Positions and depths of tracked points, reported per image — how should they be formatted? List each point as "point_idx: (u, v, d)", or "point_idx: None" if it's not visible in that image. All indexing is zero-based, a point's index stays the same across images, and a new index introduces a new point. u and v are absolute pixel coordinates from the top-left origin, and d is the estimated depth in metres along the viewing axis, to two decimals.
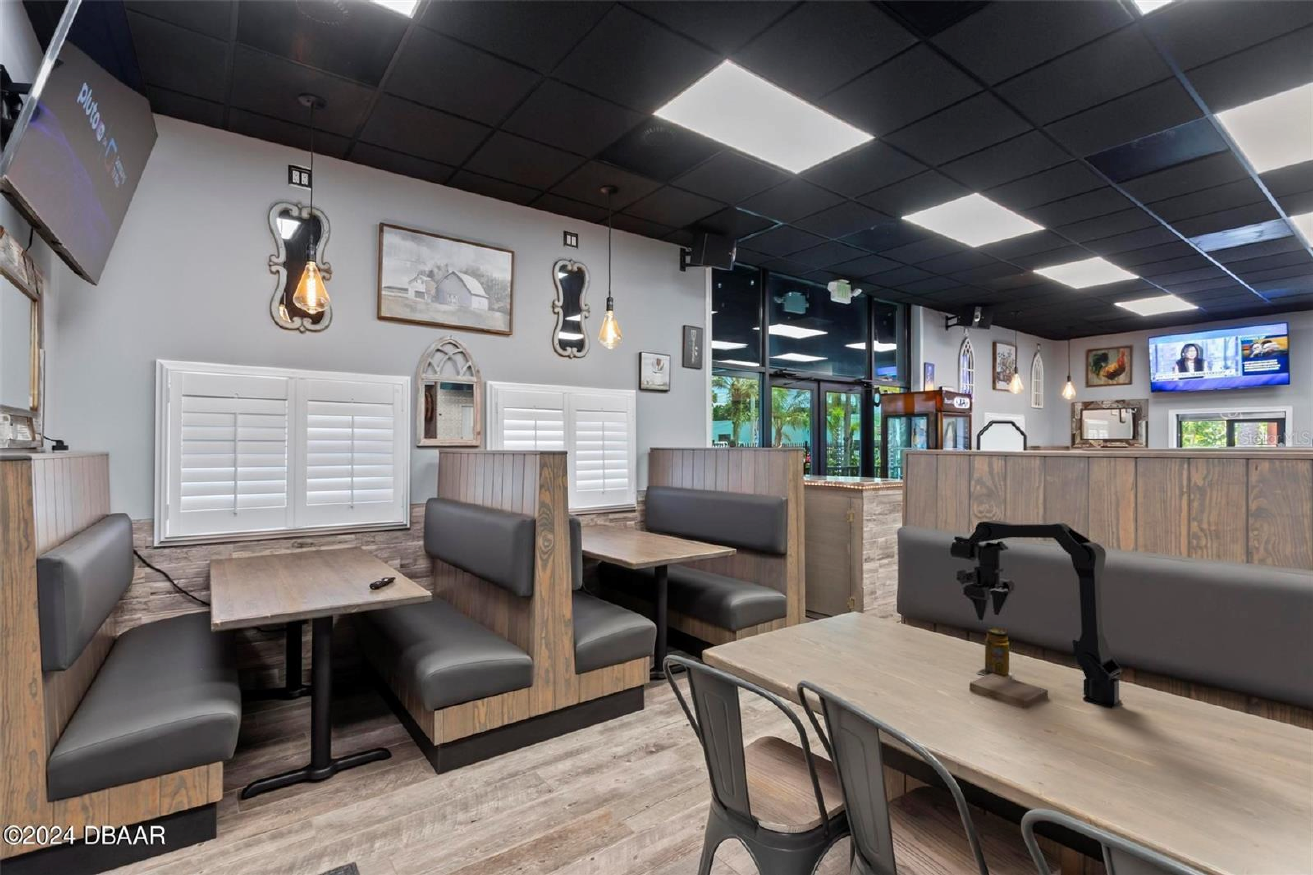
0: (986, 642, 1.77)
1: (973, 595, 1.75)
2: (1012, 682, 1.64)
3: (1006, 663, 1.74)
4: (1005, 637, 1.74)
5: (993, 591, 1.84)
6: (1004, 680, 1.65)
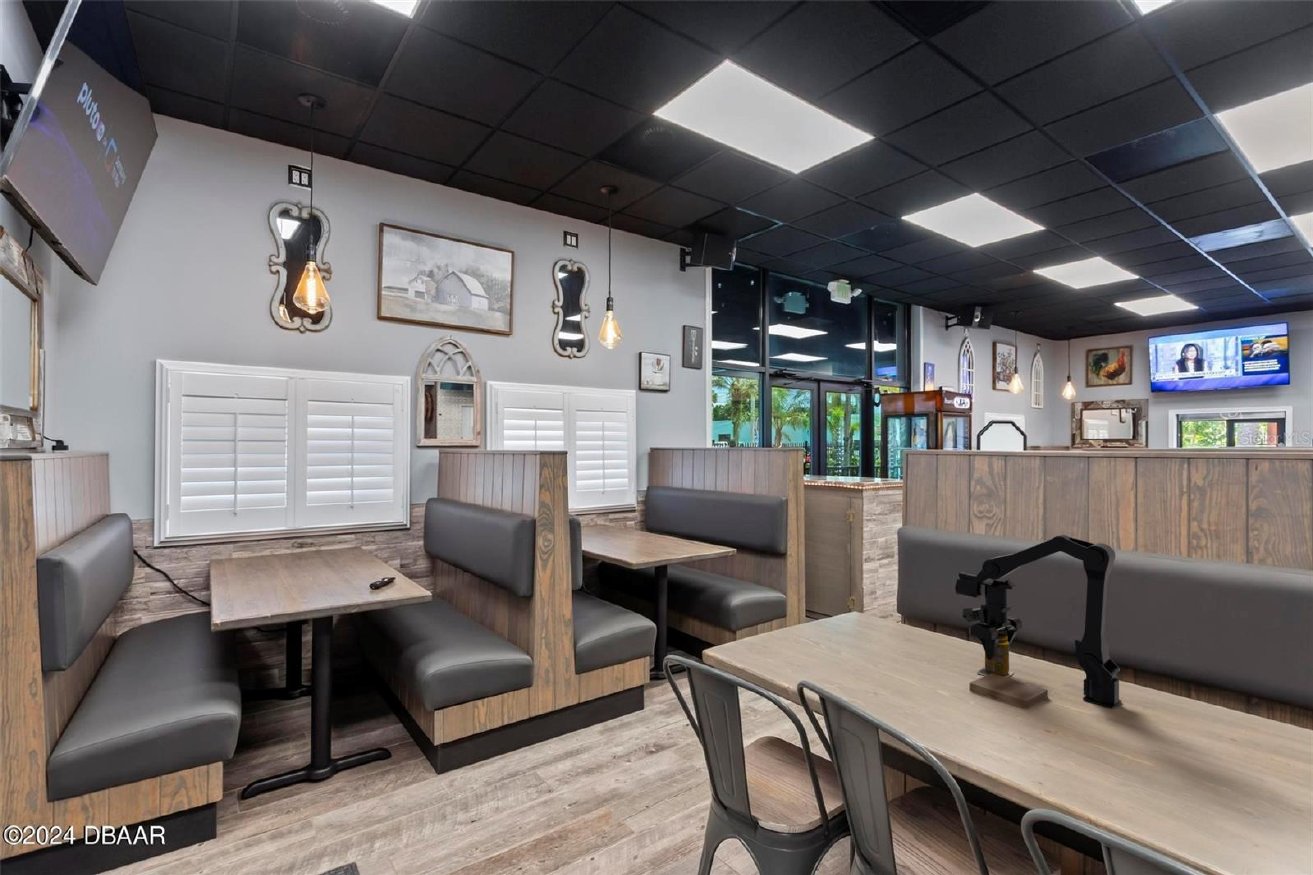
0: None
1: (980, 636, 1.70)
2: (1012, 682, 1.64)
3: (1006, 663, 1.74)
4: (1005, 637, 1.74)
5: None
6: (1004, 680, 1.65)
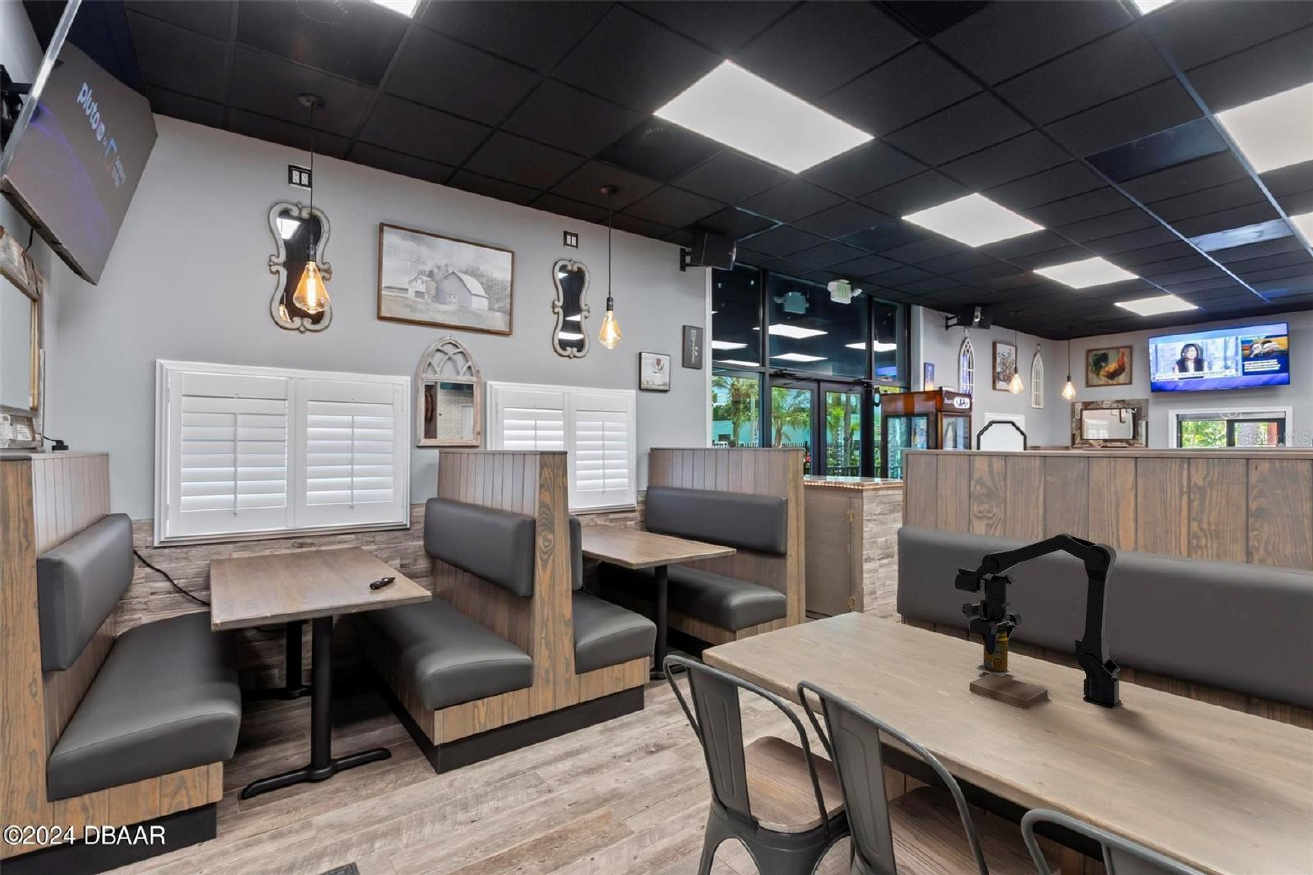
0: None
1: (979, 630, 1.70)
2: (1012, 682, 1.64)
3: (1005, 659, 1.73)
4: (1003, 633, 1.74)
5: None
6: (1004, 680, 1.65)
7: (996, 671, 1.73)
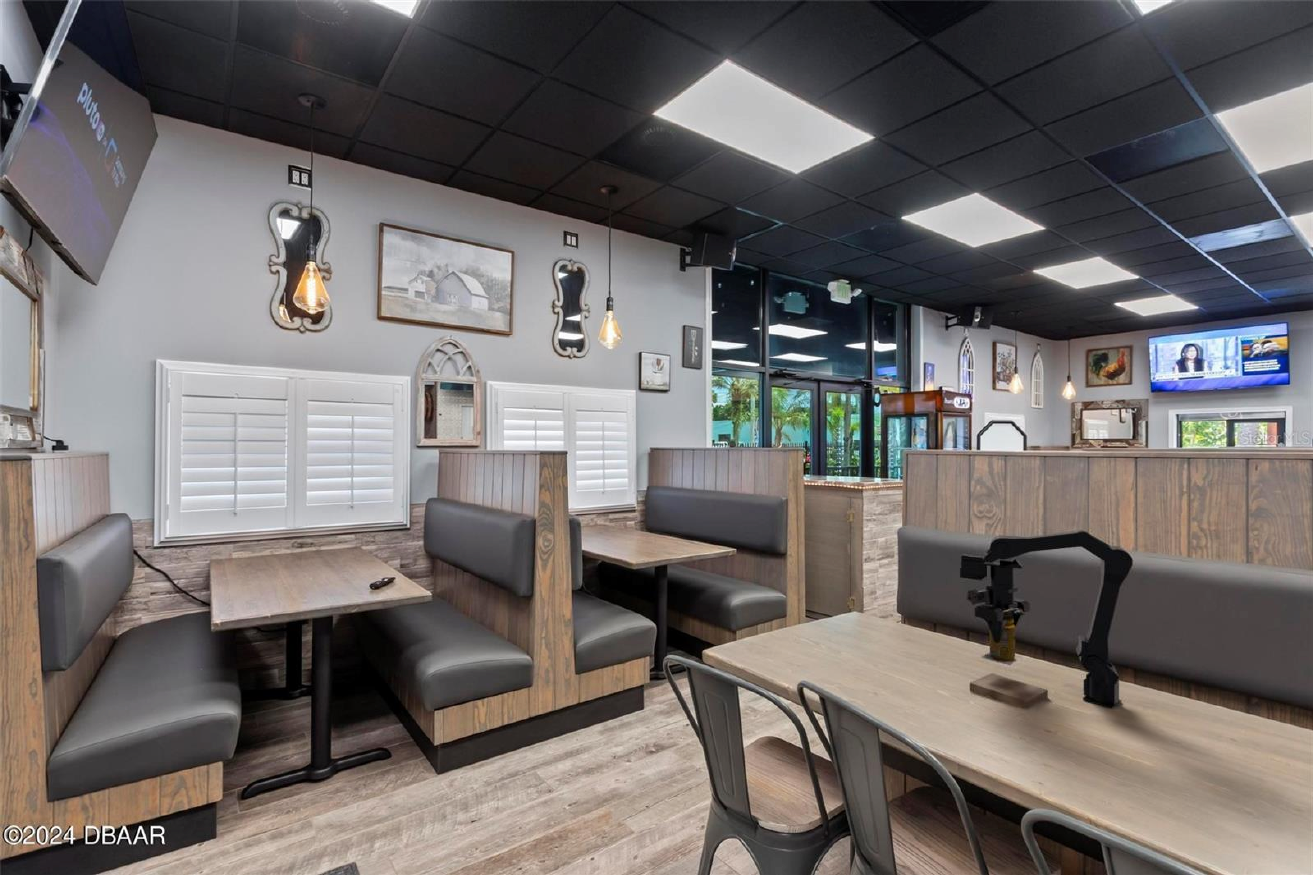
0: None
1: (985, 617, 1.63)
2: (1012, 682, 1.64)
3: (1012, 647, 1.66)
4: (1010, 620, 1.66)
5: None
6: (1004, 680, 1.65)
7: (1003, 660, 1.66)
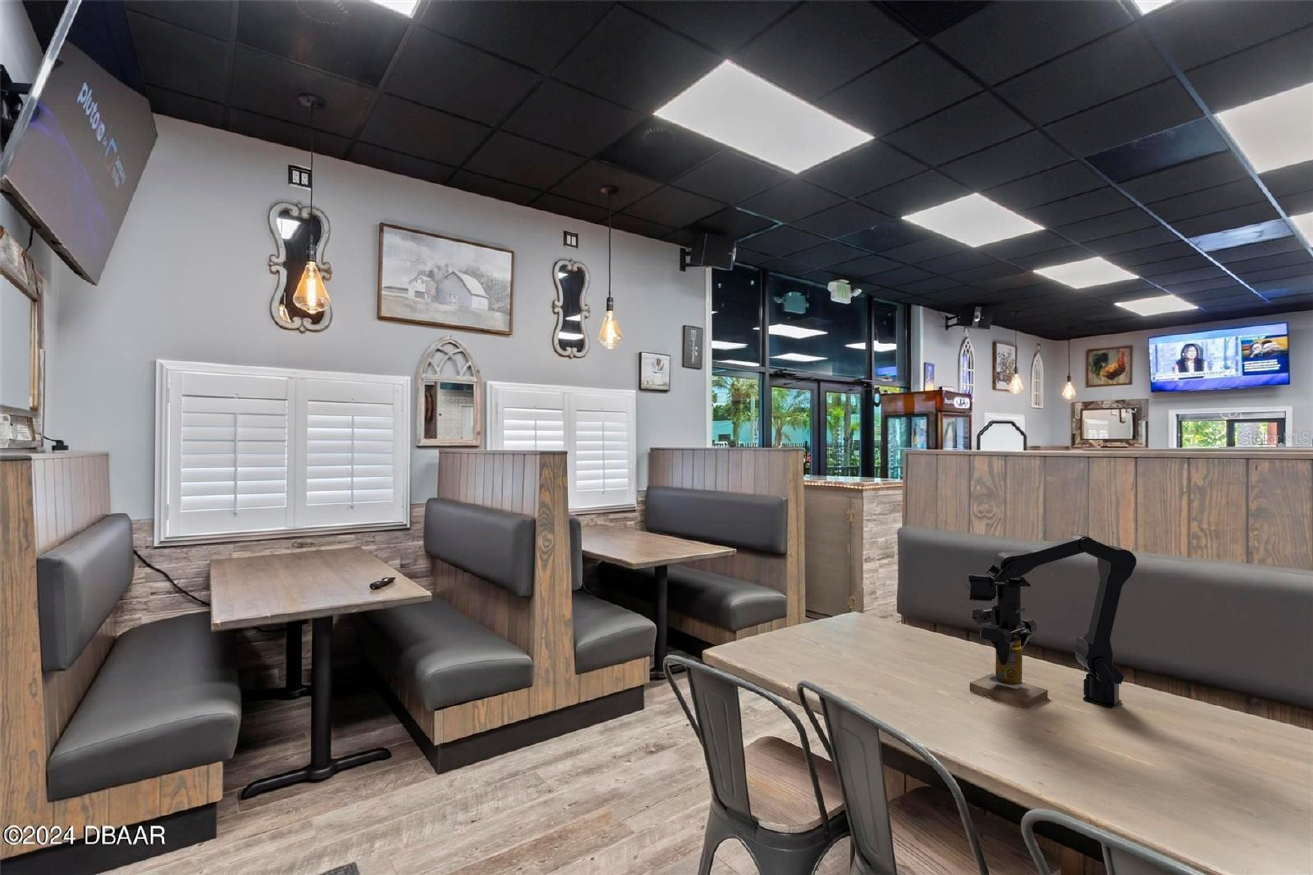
0: None
1: (992, 639, 1.56)
2: None
3: (1019, 669, 1.59)
4: (1018, 641, 1.59)
5: None
6: None
7: (1010, 683, 1.59)
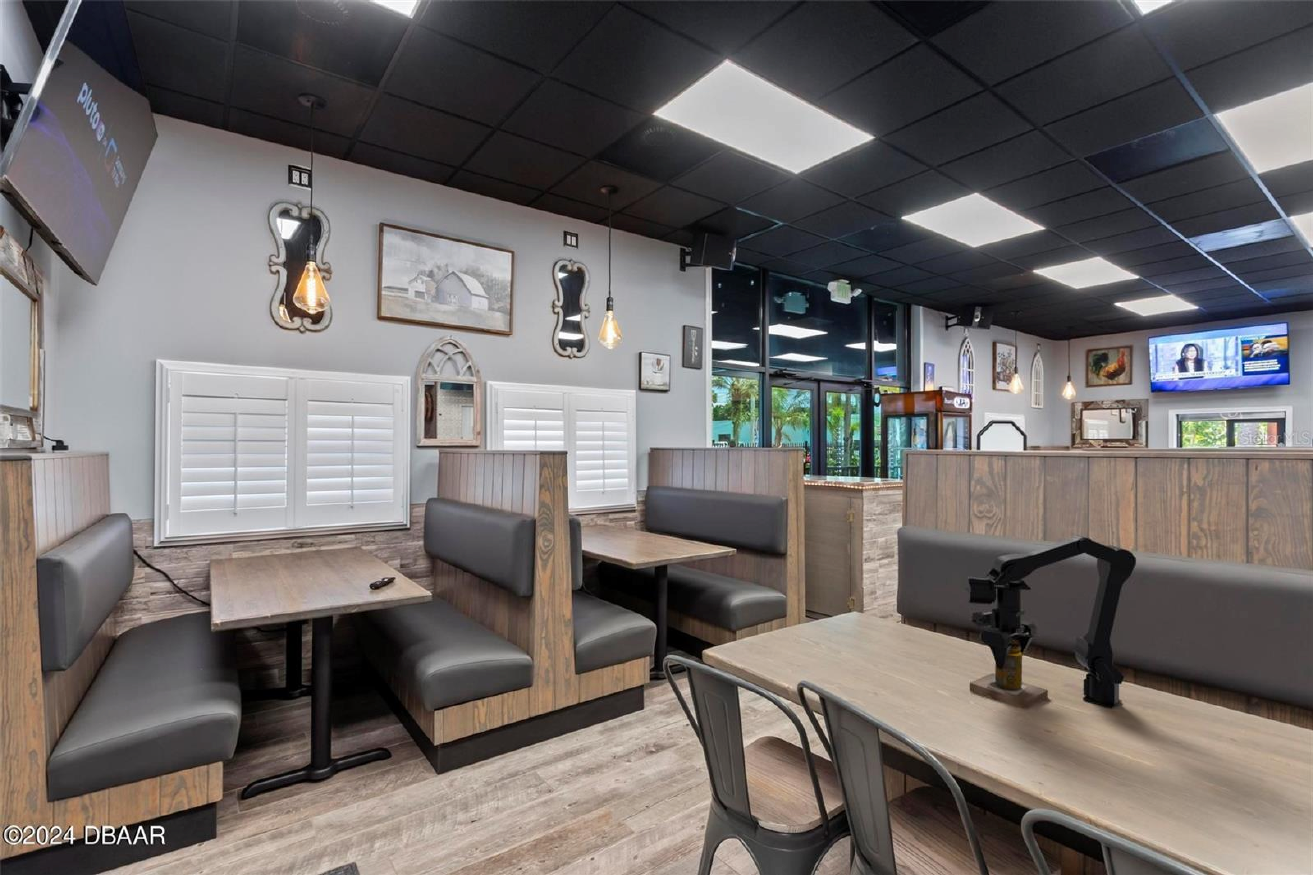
0: None
1: (991, 642, 1.56)
2: None
3: (1019, 675, 1.59)
4: (1017, 647, 1.59)
5: (1013, 635, 1.66)
6: None
7: (1009, 689, 1.59)
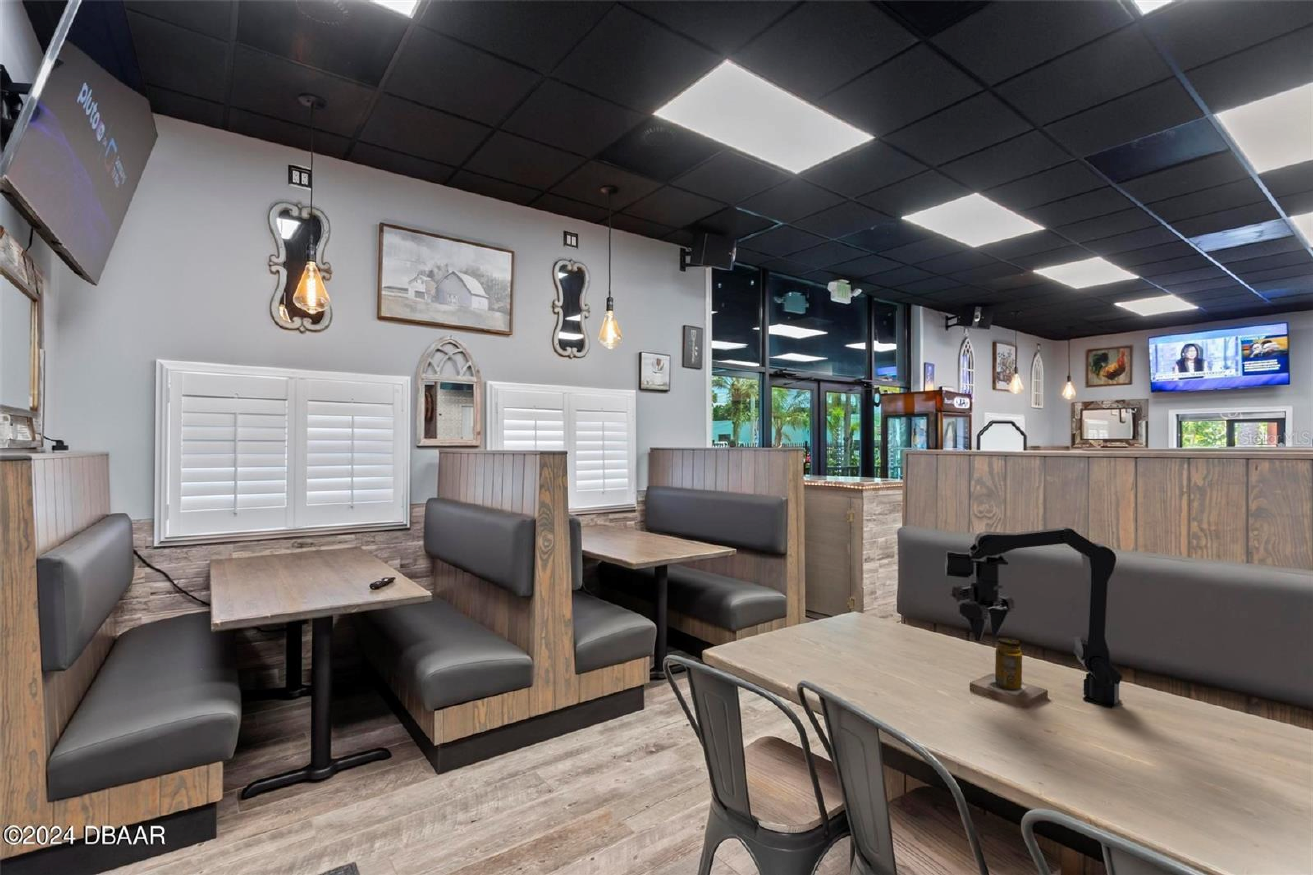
0: (997, 652, 1.62)
1: (970, 614, 1.60)
2: None
3: (1019, 675, 1.59)
4: (1017, 647, 1.59)
5: (991, 609, 1.70)
6: None
7: (1009, 689, 1.59)
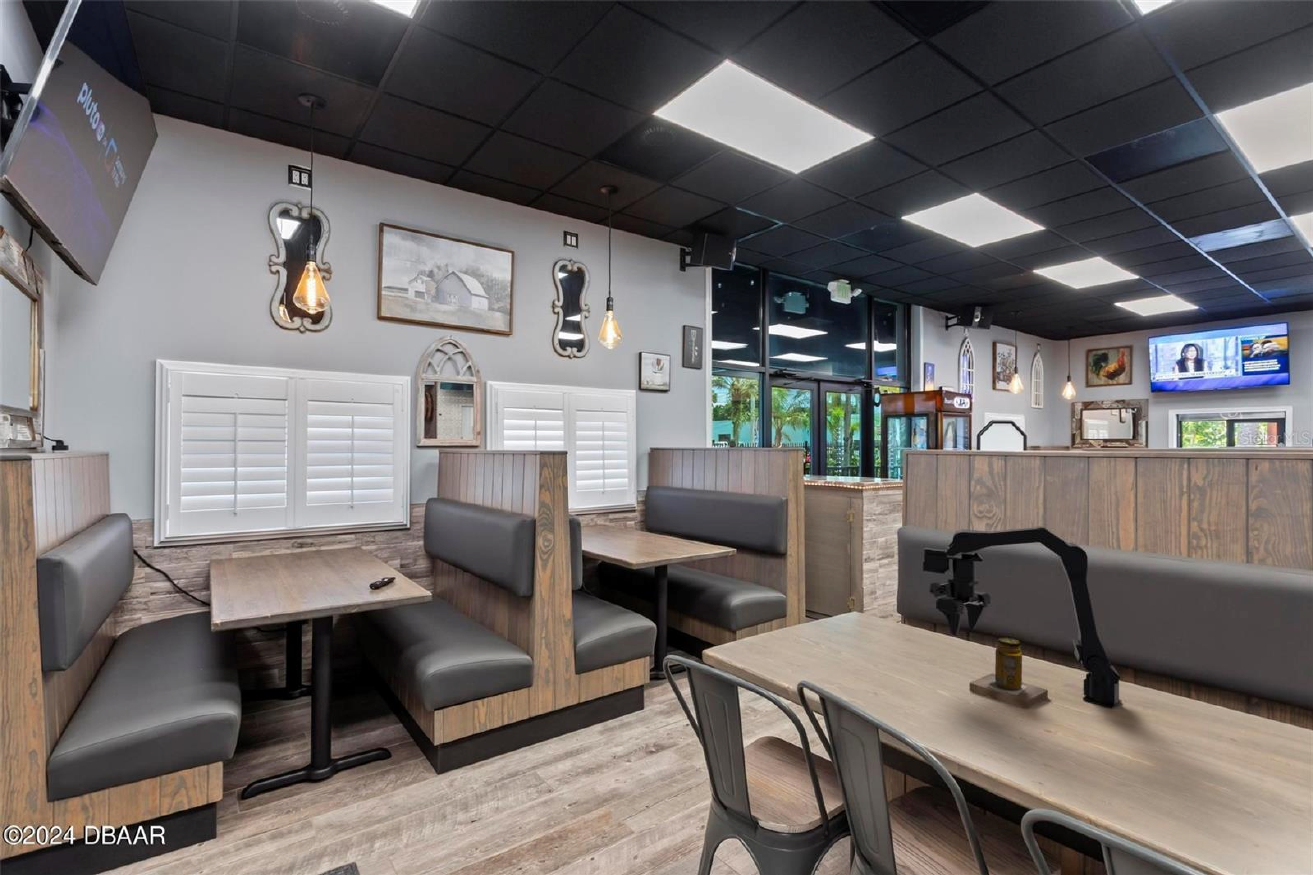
0: (997, 652, 1.62)
1: (945, 609, 1.66)
2: None
3: (1019, 675, 1.59)
4: (1017, 647, 1.59)
5: (968, 604, 1.75)
6: None
7: (1009, 689, 1.59)
